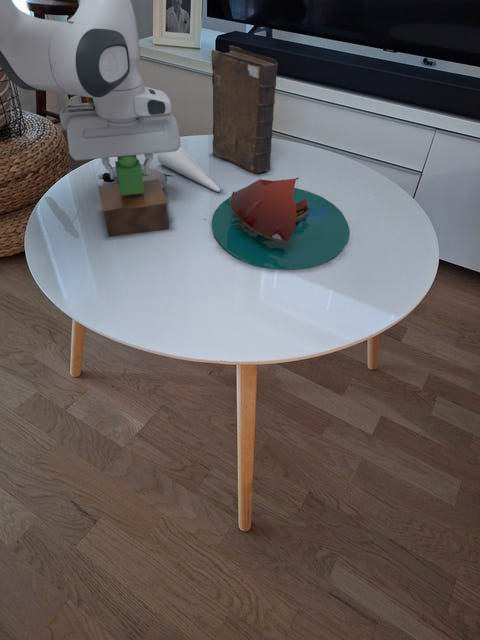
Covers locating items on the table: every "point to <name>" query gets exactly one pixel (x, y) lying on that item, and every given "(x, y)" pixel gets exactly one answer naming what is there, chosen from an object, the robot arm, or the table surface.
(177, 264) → the table surface
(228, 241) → the boat on round base
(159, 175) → the robot toy
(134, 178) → the green toy
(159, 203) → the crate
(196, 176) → the long cone
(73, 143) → the robot arm
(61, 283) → the table surface
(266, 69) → the book
